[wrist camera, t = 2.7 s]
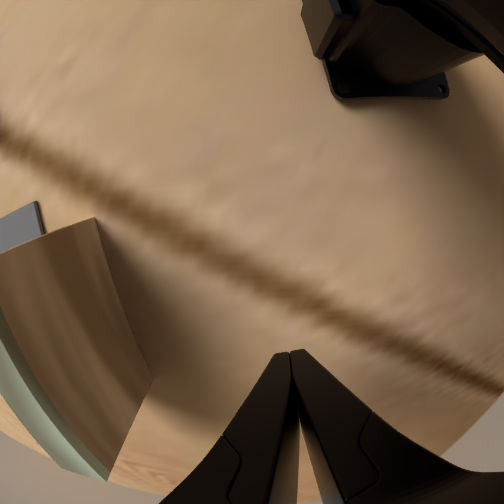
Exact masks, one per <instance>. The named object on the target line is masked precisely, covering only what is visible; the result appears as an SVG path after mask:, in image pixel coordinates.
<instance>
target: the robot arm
mask: <svg viewBox="0 0 504 504" xmlns="http://www.w3.org/2000/svg"><path fill="white" fill-rule="evenodd" d="M302 2H303V7H302V11H301V17H302V20H303V22H304V25H305V28H306V31H307V35H308V38H309V41H310V44H311V47H312V50H313V54H314V56H315V57H317V58H318V59H319V60H322V62H323V65H324V69H325V72H326V76H327V79H328V83H329V87H330V91H331V93H332V95H333V96H334V97H335V98H337V99H339V100H357V99H379V98H420V99H444V98H447V97H448V96H449V93H450V92H449V87H448V83H447V80H446V76H445V73H444V72H445V71H447V70H449V69H451V68H454V67H456V66H458V65H461V64H463V63H465V62H468V61H470V60H472V59H475V58H477V57H480V56H482V55H485V56H487V57H488V58H489V59H490V60H491V61H492V62H493V63H494V64H495V65H496V66H497V67H498V68H499V69H500V70H501V71H502V72H503V73H504V0H302ZM338 85H343V86H344V87H345V88H346V90H347V92H346V93H342V92H340V91H339V89H338ZM438 86H439V87H440V88H441V90H442V93H441V92H440V91H439V89H438ZM298 412H299V413H298ZM299 419H300V422H299ZM300 424H301V428H302V432H303V435H304V439H305V442H306V446H307V449H308V453H309V456H310V460H311V463H312V467H313V470H314V474H315V477H316V481H317V484H318V488H319V491H320V495H321V498H322V502H323V504H504V472H474V471H470V470H465V469H462V468H460V467H458V466H456V465H454V464H452V463H449V462H448V461H446V460H444V459H443V458H441V457H439V456H437V455H436V454H434V453H432V452H430V451H429V450H427V449H425V448H424V447H422V446H420V445H418V444H417V443H415V442H414V441H412V440H410V439H409V438H407V437H406V436H404V435H403V434H401V433H400V432H398V431H397V430H396V429H394V428H393V427H392V426H391V425H389V424H388V423H387V422H385V421H384V420H383V419H382V418H381V417H380V416H378V415H377V414H376V413H375V412H372V410H371V409H370V408H369V407H368V406H367V405H366V404H365V403H363V402H362V401H361V400H360V399H359V398H358V397H357V396H355V395H354V394H353V393H352V392H351V391H350V390H349V389H348V388H347V387H345V386H344V385H343V384H342V383H341V382H340V381H339V380H338V379H337V378H335V377H334V376H333V375H332V374H331V373H330V372H329V371H328V370H327V369H326V368H324V367H323V366H322V365H321V364H320V363H319V362H318V361H317V360H316V359H315V358H314V357H312V356H311V355H310V354H309V353H308V352H307V351H306V350H305V349H299V350H294V351H291V352H290V354H289V352H282V353H276V354H274V355H273V357H272V359H271V360H270V362H269V363H268V365H267V367H266V368H265V370H264V372H263V373H262V375H261V376H260V378H259V380H258V381H257V383H256V384H255V386H254V387H253V389H252V391H251V392H250V394H249V395H248V397H247V398H246V400H245V401H244V403H243V404H242V406H241V407H240V409H239V410H238V412H237V413H236V415H235V416H234V418H233V419H232V421H231V422H230V424H229V425H228V427H227V428H226V429H225V431H224V432H223V434H222V435H223V436H220V438H219V439H218V441H217V442H216V443H215V445H214V446H213V448H212V449H211V450H210V451H209V453H208V454H207V455H206V457H205V458H204V459H203V460H202V461H201V463H200V464H199V465H198V466H197V467H196V468H195V469H194V470H193V471H192V472H191V473H190V474H189V475H188V476H187V477H186V478H185V479H184V480H183V481H182V482H181V483H180V484H179V485H178V486H177V487H176V488H175V489H174V490H173V491H172V492H171V493H170V494H169V495H168V496H166V497H165V498H164V499H163V500H162V501H161V502H160V503H159V504H297V489H298V468H299V439H300Z"/></svg>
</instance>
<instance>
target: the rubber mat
mask: <svg viewBox="0 0 504 504" xmlns="http://www.w3.org/2000/svg"><path fill="white" fill-rule="evenodd" d="M42 235H44V230H43V227H42V223H41V218H40V214H39V210H38V205H37V201H34V202H32V203H30V204H28V205H26V206H24V207H22V208H20V209H18V210H16V211H14V212H12V213H10V214H8V215H7V216H5V217H3V218H1V219H0V253H1V252H3V251H5V250H8V249H10V248H12V247H15V246H17V245H19V244H22V243H24V242H27V241H29V240H31V239H34V238H36V237H39V236H42Z"/></svg>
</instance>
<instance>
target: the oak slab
mask: <svg viewBox="0 0 504 504" xmlns="http://www.w3.org/2000/svg"><path fill="white" fill-rule="evenodd" d="M153 379H154V378H153V376H152V374H151V372H150V370H149V368H148V365H147V363H146V361H145V359H144V357H143V355H142V352H141V350H140V348H139V346H138V343H137V341H136V339H135V336H134V334H133V332H132V329H131V327H130V324H129V322H128V319H127V317H126V314H125V312H124V309H123V307H122V304H121V301H120V298H119V296H118V293H117V290H116V287H115V284H114V282H113V279H112V276H111V273H110V270H109V267H108V263H107V260H106V257H105V254H104V250H103V247H102V244H101V240H100V236H99V233H98V229H97V225H96V222H95V218H94V217H93V218H90V219H87V220H84V221H81V222H78V223H75V224H72V225H69V226H66V227H63V228H60V229H57V230H54V231H52V232H49V233H47V234H44V235H42V236H39V237H36V238H34V239H31V240H29V241H27V242H24V243H22V244H19V245H17V246H15V247H12V248H10V249H8V250H5V251H3V252H1V253H0V393H1V395H2V396H3V398H4V399H5V401H6V402H7V404H8V405H9V407H10V408H11V409H12V411H13V412H14V413H15V415H16V416H17V417H18V419H19V420H20V421H21V423H22V424H23V425H24V427H25V428H26V429H27V430H28V431H29V433H30V434H31V435H32V436H33V438H34V439H35V440H36V441H37V442H38V443H39V444H40V446H41V447H42V448H43V449H44V450H45V451H46V452H47V453H48V454H49V455H50V457H51V458H52V459H53V460H54V461H55V462H56V463H57V464H58V465H59V466H60V467H61V468H63V469H66V470H69V471H72V472H75V473H78V474H81V475H84V476H87V477H90V478H94V479H97V480H101V481H105V482H107V480H108V477H109V475H110V473H111V470H112V468H113V466H114V463H115V461H116V459H117V457H118V454H119V452H120V450H121V448H122V445H123V443H124V441H125V439H126V437H127V434H128V432H129V430H130V428H131V426H132V423H133V421H134V419H135V417H136V415H137V413H138V410H139V408H140V406H141V404H142V402H143V400H144V398H145V396H146V393H147V391H148V389H149V387H150V385H151V383H152V381H153Z"/></svg>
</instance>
